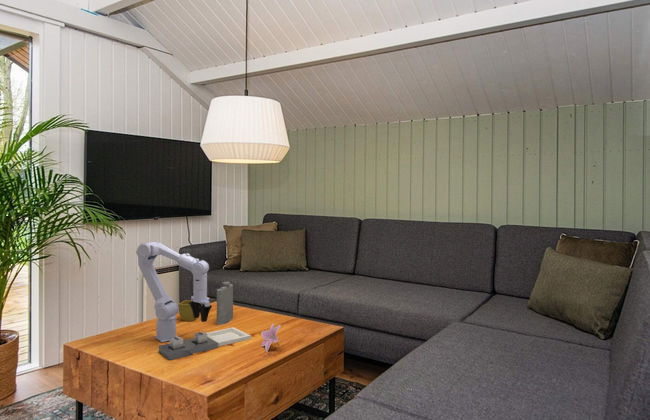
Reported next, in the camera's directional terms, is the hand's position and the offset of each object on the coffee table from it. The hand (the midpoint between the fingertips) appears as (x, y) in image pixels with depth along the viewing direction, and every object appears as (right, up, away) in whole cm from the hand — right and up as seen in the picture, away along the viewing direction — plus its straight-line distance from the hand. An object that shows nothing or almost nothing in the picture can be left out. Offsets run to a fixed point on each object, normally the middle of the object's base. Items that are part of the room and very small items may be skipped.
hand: (200, 319), depth 196 cm
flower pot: (-14, -8, +33) cm, 37 cm away
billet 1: (-6, -10, -15) cm, 19 cm away
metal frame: (-2, -10, -12) cm, 15 cm away
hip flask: (+5, -9, +30) cm, 32 cm away
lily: (+32, -10, -7) cm, 34 cm away
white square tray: (+11, -9, +3) cm, 15 cm away
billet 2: (+3, -10, -8) cm, 13 cm away
